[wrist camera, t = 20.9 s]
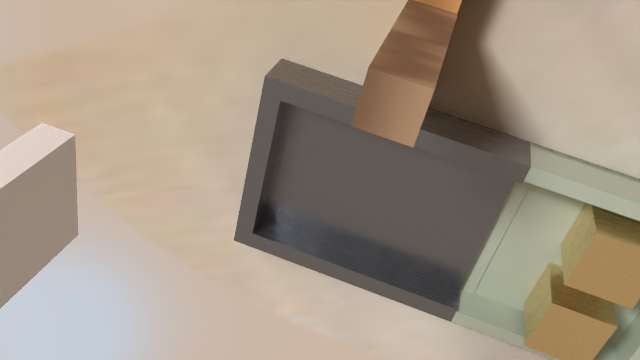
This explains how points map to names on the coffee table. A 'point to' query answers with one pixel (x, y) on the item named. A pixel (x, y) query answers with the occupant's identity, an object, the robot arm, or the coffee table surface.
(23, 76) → the coffee table surface
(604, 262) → the light brown cube
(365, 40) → the coffee table surface
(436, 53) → the bent wooden stick
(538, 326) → the tan cube
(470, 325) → the tray
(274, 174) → the dark grey shallow tray
